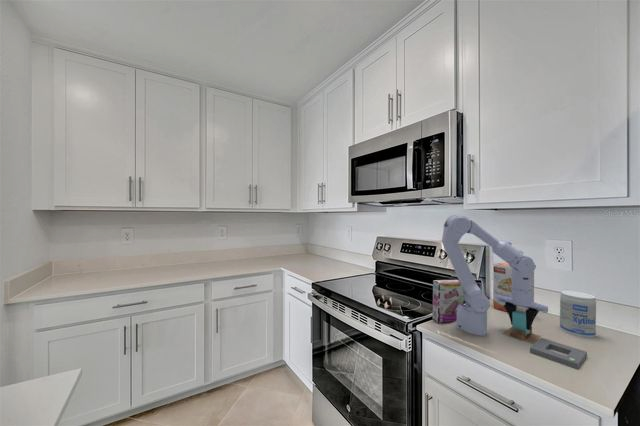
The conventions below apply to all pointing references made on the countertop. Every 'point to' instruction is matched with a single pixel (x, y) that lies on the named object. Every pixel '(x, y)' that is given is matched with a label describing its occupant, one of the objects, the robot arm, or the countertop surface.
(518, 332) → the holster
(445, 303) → the candy bar box
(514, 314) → the plug
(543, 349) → the port
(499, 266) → the cracker box
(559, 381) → the countertop surface
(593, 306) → the supplement tub
